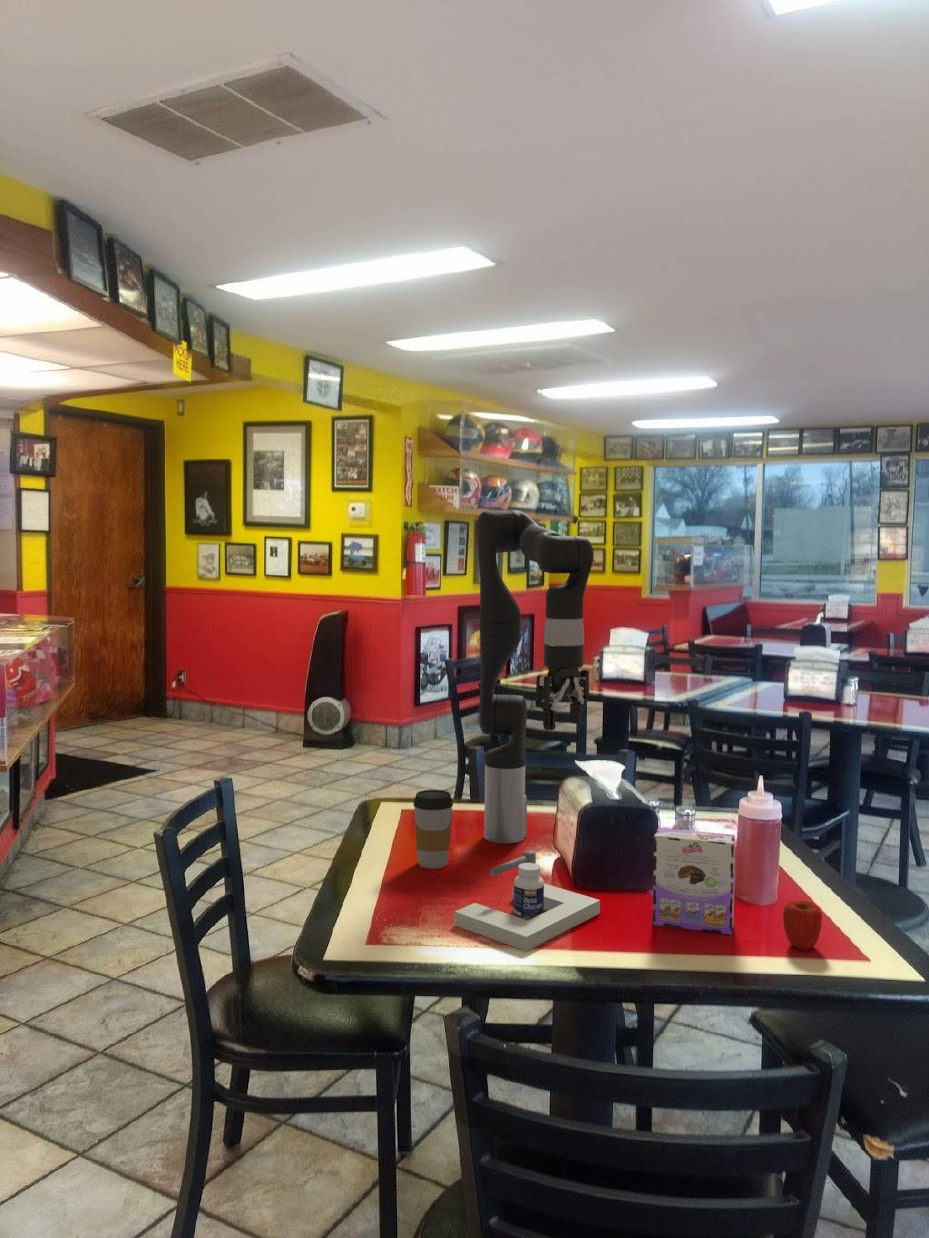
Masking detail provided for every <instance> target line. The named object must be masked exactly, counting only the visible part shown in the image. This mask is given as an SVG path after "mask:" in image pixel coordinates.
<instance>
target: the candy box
mask: <svg viewBox="0 0 929 1238" xmlns="http://www.w3.org/2000/svg"><path fill="white" fill-rule="evenodd" d="M735 837H736V835H735V834H728V833H720V832H719V833H716V832H710V831H709V832H707V831H697V830H687V829H676V828H666V827H657V830H656V832H655V834H654V836H653V876H652V877H653V878H652V879H653V880H652V881H653V883H652V884H653V885H652V920H651V921H652V922H651V925H653V926H658V927H668V928H675V929H683V930H690V931H698V932H706V933H717V934H723V935H732V934H733V927H734V911H735V910H734V908H735V907H734V906H735V886H736V885H735V884H736V883H735V877H736V875H735V869H736V868H735V867H736V866H735V865H736V863H735V861H736V860H735V859H736V855H735V853H736V851H735V850H736V847H735V846H736V845H735V843H736V841H735V840H736V838H735Z"/></svg>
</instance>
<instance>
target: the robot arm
mask: <svg viewBox="0 0 929 1238" xmlns="http://www.w3.org/2000/svg"><path fill="white" fill-rule="evenodd" d="M476 544H477V545H476V547H477V557H478V569H479V590H480V592H479V643H480V648H479V649H480V683H479V684H480V685H479V686H480V687H479V688H480V689H479V705H478V722H479V728H480V731H481V732H482V734H484V735H491V736H511V739H510V741H508V742H506V743H504V744H503V745H501V746H498V747H495V748H491V749H489V750H487V751H486V752H485V755H484V824H483V825H484V826H483V828H484V831H483V832H484V833H483V834H484V835H483V836H484V839H485V840H486V841H488V842H489V843H495V844H507V845H508V844H509V845H510V844H514V843H520V842H522V841H524V839H525V837H527V836H528V834H527V829H528V828H527V827H528V826H527V825H528V821H527V820H528V816H527V815H528V797H527V795H526V733H527V732H526V731H527V721H528V705H527V700H526V698H525V697H524V696H523V695H520V694H519V695H517V694H495V693H494V689H495V686H496V684H497V681H498V678H499V676H500V675H501V673H502V672H503V669H504V668H505V667H506V665H507V663H508V661H509V660H510V659H511V657H512V656H513V655H514V653H515V652H516V650H517V648H518V647H519V645H520V642H521V637H522V636H521V635H522V620H521V619H522V613H521V609H520V606H519V604H518V602H517V601H516V599H515V597H514V595H513V593H511V591H510V590H509V588H508V586H507V585H506V583H505V581H504V580H503V578H502V576H501V573H500V571H499V567H498V561H497V554H498V553H499V554H500V553H514V552H519V551H521V553H522V554H523V556H524V557H525V558H527V559H529V560H530V561H531V562H534V563H536V564H537V565H538V567H539V569H540V570H541V571H542V572H544V573H546V574H547V573H548V574H569V575H568V577H567V579H566V581H565V582H564V583H562V584H560V585H556V586H552V587H550V588H548V589H547V590H546V595H545V623H544V628H543V633H544V634H543V666H545V668H547V669H548V671H547V674H546V675H543V674H541V675H540V674H538V675H537V676H536V682H535V683H536V684H535V685H536V686H535V700H534V701H535V703H534V704H535V705H534V706H535V707H536V708H540V709H542V712H543V713H542V717H543V718H542V722H543V723H542V726H543V729H544V730H546V731H555V729H556V714H557V713H556V710H555V709H556V707H557V705H558V702H560V701H561V700H562V699H563V697H565V696H566V697H568V700H569V701H570V703H569V722H570V723H571V724H576V725H578V724H581V723H582V718H583V717H582V716H583V715H582V712H583V711H582V710H583V704H584V703H585V701H588V700H589V699H590V672H589V671H590V670H589V669H585V668H582V667H583V666H584V660H585V659H584V657H585V656H584V654H585V628H584V597H585V592H586V588H587V585H588V579H589V576H590V572H591V570H592V566H593V563H594V558H595V557H594V555H595V552H594V548H593V547H594V546H593V544H592V543H591V541H590V540H589V539H588V538H587V537H585V536H582V535H580V536H579V535H578V536H577V535H576V536H575V535H573V536H572V535H569V536H568V535H567V536H566V535H561V534H560V533H558V532H557V531H555V530H552V529H549V528H546V527H543V526H540V525H539V523H538V524H537V522H535V520H533V519H532V518H531V517H530V516H528V514H526V513H525V512H523V511H521V510H517V509H503V510H486V511H482V512H481V513H480V514H479V515H478V518H477V522H476ZM582 688H583V689H582ZM542 696H543V699H542Z"/></svg>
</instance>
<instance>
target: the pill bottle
mask: <svg viewBox="0 0 929 1238" xmlns="http://www.w3.org/2000/svg"><path fill="white" fill-rule="evenodd" d="M517 872H518V873H517V874H518V875H517V876H516V877H515V878H514V881H513V886H514V900H513V907H512V908H513V912H512V916H515V917H518V918H521V919H524V920H527V921H528V920H530V919H532V918H534V917H536V916H538V915H540V914H543V913H544V910H543V907H544V884H545V882H544V879H543V878H542V877H541V876H540V875H541V865H539V864H538V863H536V864H535V863H522V864H520V865H519V866H518V868H517Z"/></svg>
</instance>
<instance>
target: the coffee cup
mask: <svg viewBox="0 0 929 1238" xmlns="http://www.w3.org/2000/svg"><path fill="white" fill-rule="evenodd" d="M451 796H452V794H451V793H450V792H449V791H447V790H442V789H424V790H420V791H417V792H416V793H415V797H414V799H413V807H414V818H415V820H414V827H415V841H416V842H415V845H416V852H417V863H418V865H419V866H420V867H421V868H424V869H425V868H426V869H441V868H444V867H446V866H447V865H448V862H449V851H450V844H451V831H452V830H451V829H452V813H453V812H452V811H453V806H454V803H453V801H454V800H453V798H452V797H451Z"/></svg>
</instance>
